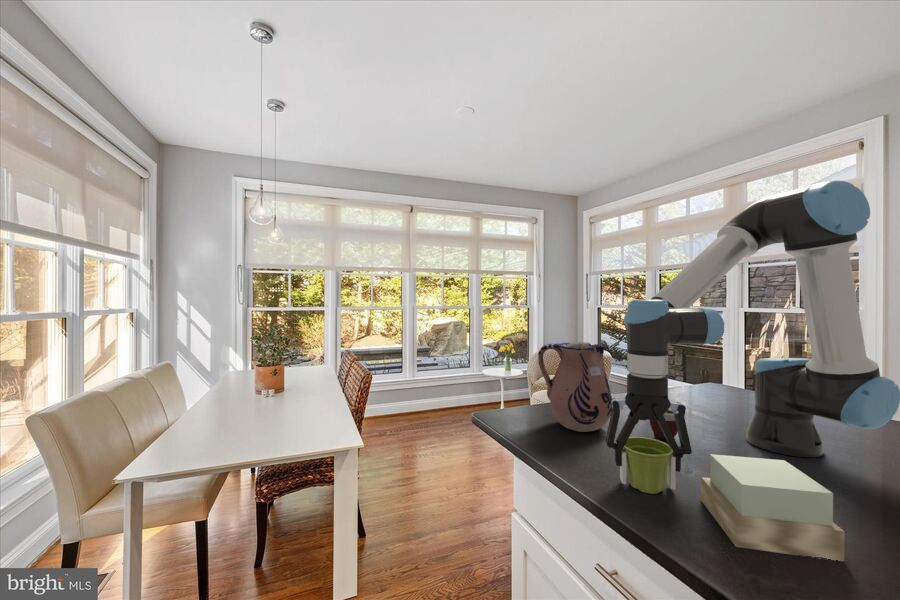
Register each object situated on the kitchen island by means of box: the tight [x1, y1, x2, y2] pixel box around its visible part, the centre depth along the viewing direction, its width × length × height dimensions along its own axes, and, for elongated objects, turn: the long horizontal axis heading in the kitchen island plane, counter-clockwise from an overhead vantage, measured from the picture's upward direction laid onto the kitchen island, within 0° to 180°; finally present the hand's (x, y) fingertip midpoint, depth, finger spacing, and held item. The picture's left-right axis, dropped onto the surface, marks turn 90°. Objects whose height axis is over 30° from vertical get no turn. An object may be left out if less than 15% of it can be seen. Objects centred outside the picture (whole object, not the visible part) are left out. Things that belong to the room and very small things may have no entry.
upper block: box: [709, 453, 834, 526], centre depth 65 cm, size 12×12×5 cm
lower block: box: [700, 476, 846, 562], centre depth 66 cm, size 14×14×5 cm
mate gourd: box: [649, 409, 678, 444], centre depth 105 cm, size 8×8×15 cm
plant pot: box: [624, 436, 673, 495], centre depth 79 cm, size 9×9×9 cm
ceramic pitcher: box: [537, 341, 613, 433], centre depth 115 cm, size 18×21×25 cm
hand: (646, 483), depth 79 cm, fingers closed on plant pot, 8 cm apart
